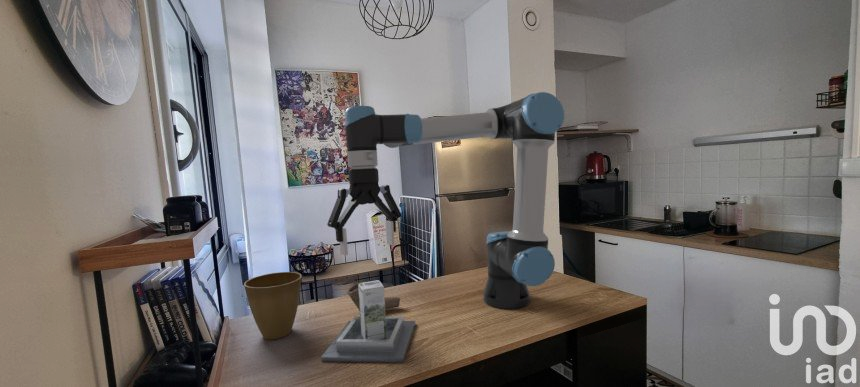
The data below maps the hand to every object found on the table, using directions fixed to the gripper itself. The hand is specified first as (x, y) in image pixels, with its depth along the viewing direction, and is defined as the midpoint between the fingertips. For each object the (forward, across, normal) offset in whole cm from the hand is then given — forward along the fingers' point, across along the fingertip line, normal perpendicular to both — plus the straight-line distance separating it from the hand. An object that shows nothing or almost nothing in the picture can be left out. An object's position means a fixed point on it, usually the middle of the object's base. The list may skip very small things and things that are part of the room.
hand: (368, 249), depth 92 cm
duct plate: (+25, 0, 0) cm, 25 cm away
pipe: (+25, +9, +16) cm, 31 cm away
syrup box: (+24, 0, 0) cm, 24 cm away
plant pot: (+25, -18, +23) cm, 39 cm away
